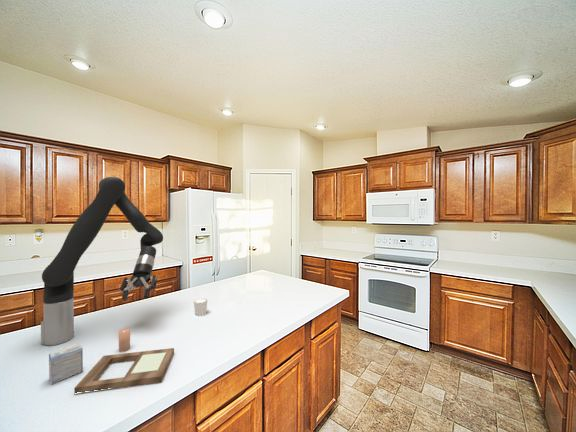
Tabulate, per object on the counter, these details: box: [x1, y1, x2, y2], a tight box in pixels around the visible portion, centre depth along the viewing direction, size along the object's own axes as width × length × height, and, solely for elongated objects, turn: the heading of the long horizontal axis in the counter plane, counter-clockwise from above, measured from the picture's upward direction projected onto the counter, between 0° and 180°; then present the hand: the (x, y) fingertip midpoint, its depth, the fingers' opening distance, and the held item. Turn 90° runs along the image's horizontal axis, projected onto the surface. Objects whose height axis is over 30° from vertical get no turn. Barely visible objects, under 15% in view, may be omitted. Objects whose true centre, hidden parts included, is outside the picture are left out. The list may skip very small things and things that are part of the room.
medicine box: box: [48, 343, 84, 385], centre depth 79 cm, size 8×4×9 cm, turn 141°
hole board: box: [73, 347, 175, 394], centre depth 81 cm, size 24×16×2 cm, turn 103°
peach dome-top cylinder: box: [118, 327, 131, 353], centre depth 94 cm, size 4×4×8 cm
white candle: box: [193, 298, 208, 317], centre depth 127 cm, size 7×7×7 cm
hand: (134, 299), depth 104 cm, fingers open, 8 cm apart
